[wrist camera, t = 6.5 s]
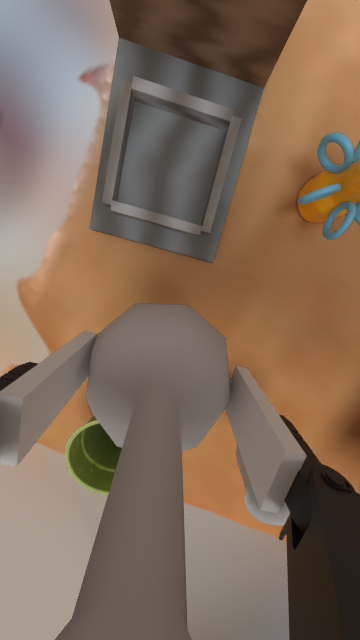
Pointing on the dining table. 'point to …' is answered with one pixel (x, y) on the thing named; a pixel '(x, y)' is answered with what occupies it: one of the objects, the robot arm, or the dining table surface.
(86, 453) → the plant pot
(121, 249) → the dining table surface
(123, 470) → the potion bottle
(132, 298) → the dining table surface
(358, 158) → the orange ring-handled vase
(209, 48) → the ledge nook
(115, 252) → the dining table surface
